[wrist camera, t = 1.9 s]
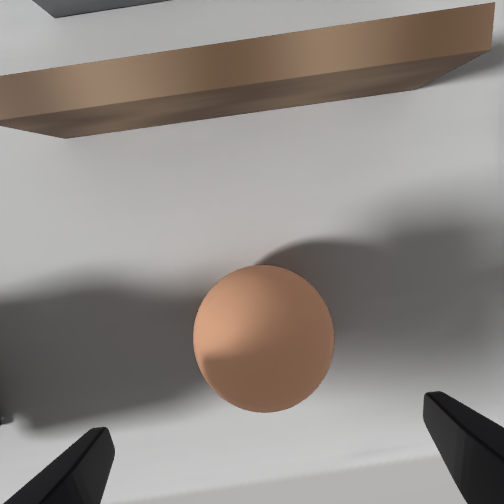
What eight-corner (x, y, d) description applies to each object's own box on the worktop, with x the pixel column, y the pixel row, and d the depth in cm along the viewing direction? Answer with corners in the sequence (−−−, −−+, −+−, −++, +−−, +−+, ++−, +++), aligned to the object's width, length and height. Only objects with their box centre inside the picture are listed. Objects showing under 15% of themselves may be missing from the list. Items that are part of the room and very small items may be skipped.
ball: (215, 356, 16) (194, 460, 10) (196, 257, 14) (158, 312, 8) (319, 344, 16) (359, 443, 10) (312, 243, 14) (354, 289, 8)
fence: (64, 138, 13) (-17, 122, 9) (57, 110, 12) (-32, 80, 9) (415, 89, 12) (491, 49, 8) (416, 58, 12) (495, 1, 8)
